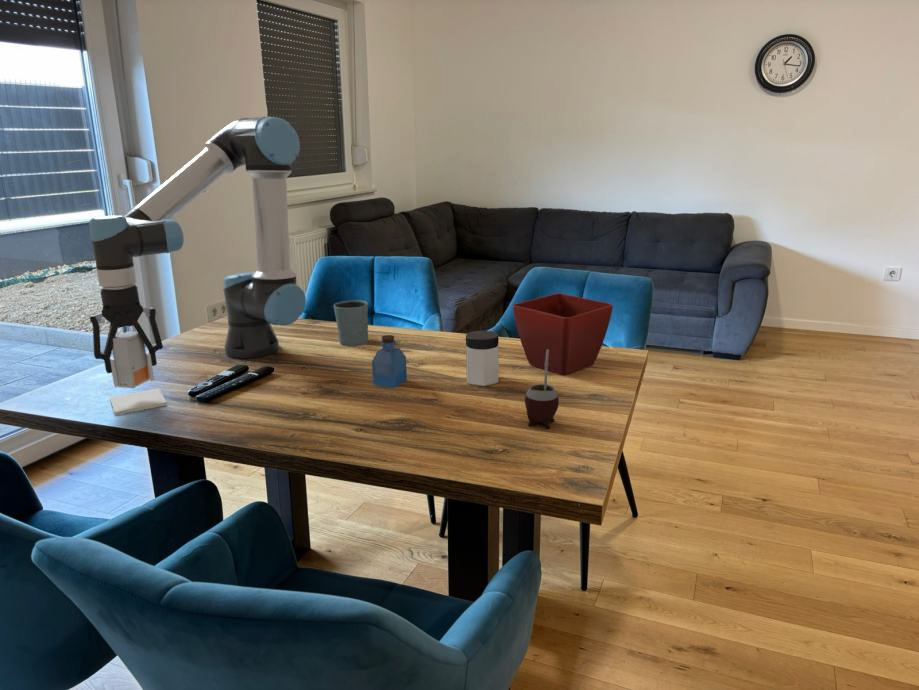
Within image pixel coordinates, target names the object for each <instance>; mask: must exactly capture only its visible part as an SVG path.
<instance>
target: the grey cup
mask: <svg viewBox="0 0 919 690" xmlns="http://www.w3.org/2000/svg"><path fill="white" fill-rule="evenodd" d="M368 305H369V303H368V302H367V301H366V300H360V299H358V300H357V299H356V300H355V299H354V300H353V299H352V300H344V301H340V302H335V303H334V304H333V311H334V316H335V321H336V327H337V331H338V334H337V335H338V341H339V343H340V345H341V346H343V347H344V346H345V347H358V346H364V345H367V344H368V343H369V321H368V317H369V316H368V311H369V308H368V307H369V306H368Z"/></svg>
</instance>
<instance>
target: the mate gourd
mask: <svg viewBox="0 0 919 690" xmlns="http://www.w3.org/2000/svg"><path fill="white" fill-rule="evenodd" d="M548 356H549V349H547V351H546V360H545V366H544V367H545V369H544V378H543V384H534V385H532V386H530V387H529V388H528V390H527V391H526V392H525V393H526V394H525V397H524V405H525V408H526V414H527V419H528V423H527V426H528V427H529V428H531V427H535V426H542V427H543V428H544V429H546V430H550V429H551V426H550V423H555V421H556V419H555V418H554V417H555V415H556V412H557V411H558V408H559V405H560V404H559V403H560V402H559V394H558V392H557V390H556V389H555V388H554V387H553V386H552V385H548Z"/></svg>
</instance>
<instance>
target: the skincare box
mask: <svg viewBox="0 0 919 690" xmlns="http://www.w3.org/2000/svg"><path fill="white" fill-rule="evenodd" d="M113 343H114V344H113V348H112V355H113V356H112V357H113V359H114V363H115V369H116V374H117V380H118V386H119V387H118V388H125V389H126V388H127V389H135V388H136V387H138V386H141V385H142V384H144V383H147V382H149V381H151V380H150V378H149V372H148V365H147V358H146V352H147V350H146V345H145V343H144V342H143V340H142V338H141V337H140V335H139V334H138V332H137V331H128V330H127V331H126V332H123V333H120V334H116V336H115V338H113Z"/></svg>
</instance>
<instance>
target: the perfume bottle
mask: <svg viewBox="0 0 919 690" xmlns="http://www.w3.org/2000/svg"><path fill="white" fill-rule="evenodd" d="M380 342H381V344H380V346H381V347H382V348H380V349H378V350H377V351H376V353H375V355H374V357H373V358H372V360H371V366H372V368H371V369H372V370H371V371H372V385H374V386H379V387H386V388H394V389H395V388H397V387H399V386H400V385H401V384H403V383H405V382H406V381H407V380H408V378H407V377H408V372H407V356H406V355H405V354H404V352H403V351H402V349H401V348H400V347H395V346H396V340H395V335H391V334H385V335H382V336H381V341H380Z"/></svg>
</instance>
